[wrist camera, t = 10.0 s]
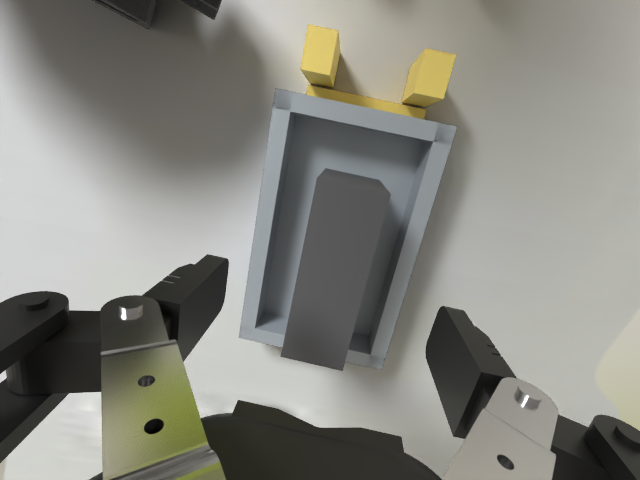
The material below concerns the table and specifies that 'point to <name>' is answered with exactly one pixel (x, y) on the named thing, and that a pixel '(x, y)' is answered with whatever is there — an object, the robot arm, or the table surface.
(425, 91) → the blocks
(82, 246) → the table surface
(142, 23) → the tool
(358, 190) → the grey slab
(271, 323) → the tray
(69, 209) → the table surface
